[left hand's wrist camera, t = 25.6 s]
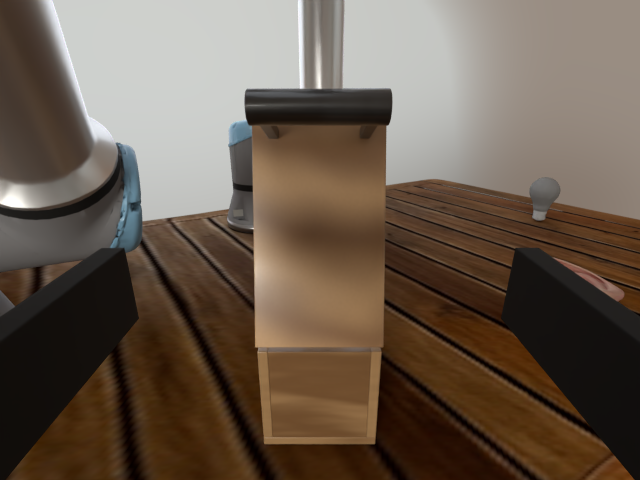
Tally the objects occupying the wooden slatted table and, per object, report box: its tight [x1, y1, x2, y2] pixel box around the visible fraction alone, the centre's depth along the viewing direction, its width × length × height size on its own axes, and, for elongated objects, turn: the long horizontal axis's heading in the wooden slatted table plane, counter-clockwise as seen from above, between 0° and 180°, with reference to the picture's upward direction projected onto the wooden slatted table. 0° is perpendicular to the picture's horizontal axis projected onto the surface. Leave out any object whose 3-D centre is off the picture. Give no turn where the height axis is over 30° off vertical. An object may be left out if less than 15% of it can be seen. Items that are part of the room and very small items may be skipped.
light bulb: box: [530, 177, 560, 221], centre depth 85 cm, size 6×6×10 cm
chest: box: [257, 347, 382, 444], centre depth 37 cm, size 17×9×9 cm, turn 0°
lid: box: [245, 88, 392, 347], centre depth 22 cm, size 18×9×8 cm
